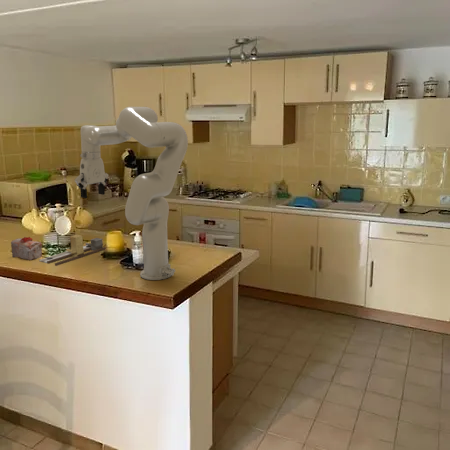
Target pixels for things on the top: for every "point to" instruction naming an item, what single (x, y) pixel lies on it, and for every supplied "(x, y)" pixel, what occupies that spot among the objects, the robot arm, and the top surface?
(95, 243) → the grey slide rail
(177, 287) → the top surface
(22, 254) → the food item
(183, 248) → the top surface
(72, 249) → the sliding head
